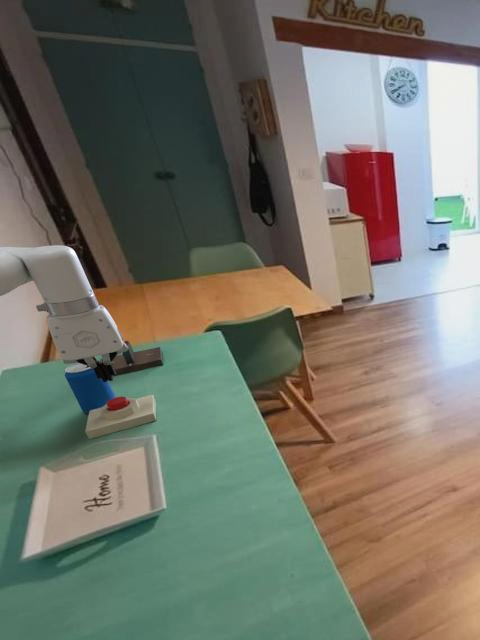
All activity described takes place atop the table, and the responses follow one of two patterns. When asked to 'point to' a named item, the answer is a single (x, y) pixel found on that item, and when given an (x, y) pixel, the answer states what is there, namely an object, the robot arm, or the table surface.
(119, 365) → the panel
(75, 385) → the beverage can
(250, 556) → the table surface
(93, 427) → the housing
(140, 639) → the table surface
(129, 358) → the knob
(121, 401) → the button
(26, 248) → the robot arm
